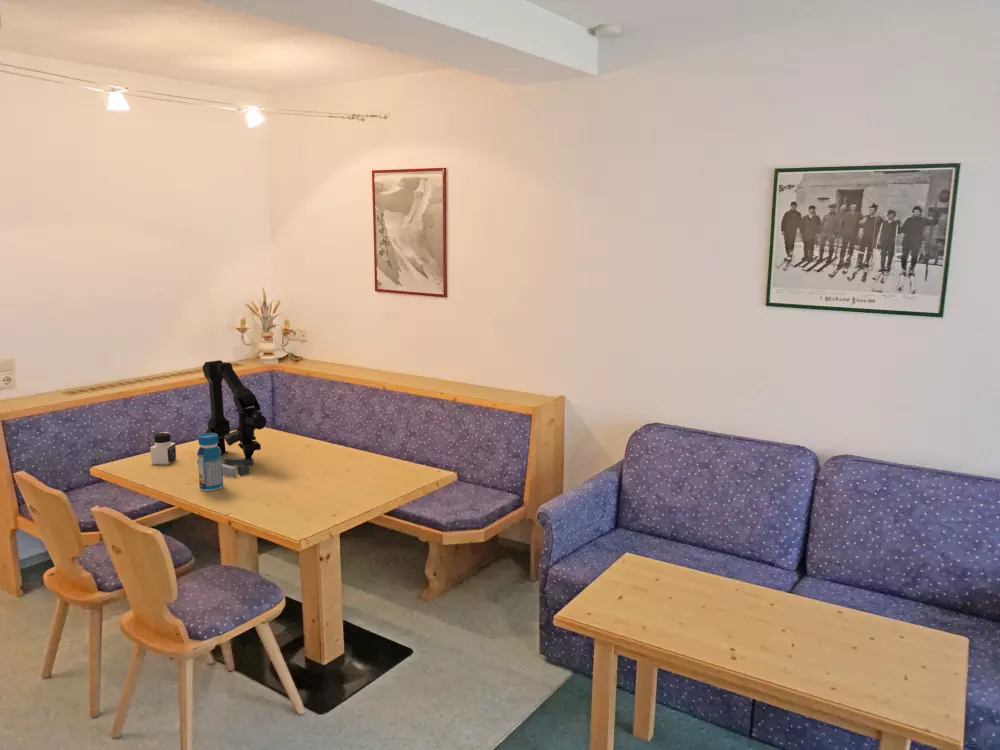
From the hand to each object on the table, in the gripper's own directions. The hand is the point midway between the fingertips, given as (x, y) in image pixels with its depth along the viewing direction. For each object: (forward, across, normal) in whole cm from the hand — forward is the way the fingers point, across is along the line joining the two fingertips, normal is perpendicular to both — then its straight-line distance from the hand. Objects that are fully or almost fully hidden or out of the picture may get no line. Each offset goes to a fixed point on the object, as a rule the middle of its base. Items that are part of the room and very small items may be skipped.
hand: (247, 461), depth 308 cm
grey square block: (+1, +10, -4) cm, 11 cm away
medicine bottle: (+2, -22, -28) cm, 36 cm away
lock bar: (+1, 0, -5) cm, 5 cm away
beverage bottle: (+1, +21, -18) cm, 28 cm away
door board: (+1, +3, -12) cm, 12 cm away
